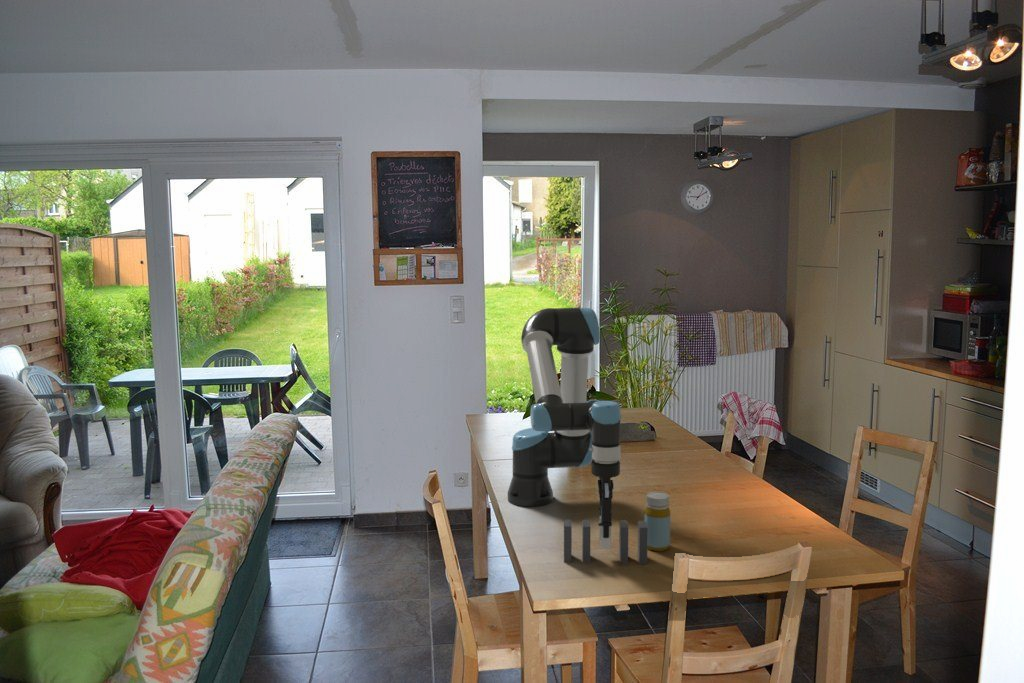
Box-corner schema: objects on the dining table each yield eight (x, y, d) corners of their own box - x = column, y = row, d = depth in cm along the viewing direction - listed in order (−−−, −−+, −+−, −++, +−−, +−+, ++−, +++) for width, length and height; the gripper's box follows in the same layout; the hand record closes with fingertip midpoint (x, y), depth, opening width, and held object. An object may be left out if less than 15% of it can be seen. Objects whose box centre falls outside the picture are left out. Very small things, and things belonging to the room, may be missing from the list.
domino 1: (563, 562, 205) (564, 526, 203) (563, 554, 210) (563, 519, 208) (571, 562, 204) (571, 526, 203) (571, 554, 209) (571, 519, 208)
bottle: (666, 541, 218) (667, 490, 216) (672, 551, 211) (673, 499, 209) (641, 542, 218) (642, 491, 216) (647, 552, 211) (647, 499, 209)
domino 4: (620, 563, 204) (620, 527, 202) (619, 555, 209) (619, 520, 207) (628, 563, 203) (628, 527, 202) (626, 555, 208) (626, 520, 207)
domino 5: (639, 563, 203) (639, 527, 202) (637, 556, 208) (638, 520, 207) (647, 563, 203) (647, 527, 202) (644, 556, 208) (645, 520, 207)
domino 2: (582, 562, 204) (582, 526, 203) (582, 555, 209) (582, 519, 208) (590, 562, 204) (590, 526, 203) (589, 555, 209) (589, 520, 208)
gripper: (590, 450, 212) (589, 531, 215) (592, 469, 194) (592, 557, 197) (617, 450, 211) (616, 531, 214) (622, 470, 193) (621, 558, 196)
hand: (605, 544), depth 206 cm, fingers closed on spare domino, 5 cm apart
